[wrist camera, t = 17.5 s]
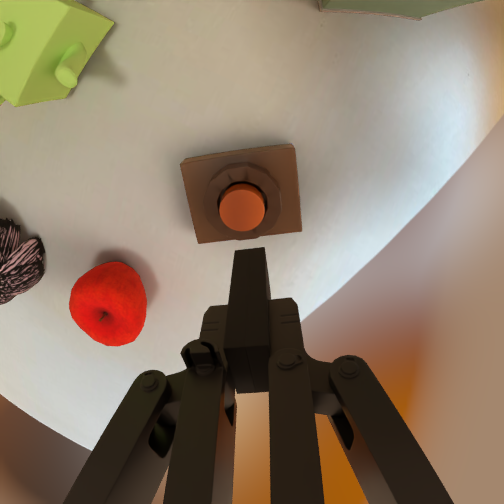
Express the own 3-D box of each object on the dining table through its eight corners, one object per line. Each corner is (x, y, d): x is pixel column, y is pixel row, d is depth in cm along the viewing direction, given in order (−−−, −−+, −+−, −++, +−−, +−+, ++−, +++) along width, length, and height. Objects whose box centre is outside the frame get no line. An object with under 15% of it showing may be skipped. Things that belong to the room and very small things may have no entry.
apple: (163, 310, 36) (148, 357, 29) (102, 305, 36) (78, 347, 29) (152, 246, 32) (128, 289, 25) (84, 245, 32) (52, 283, 25)
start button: (261, 180, 25) (261, 186, 23) (266, 220, 26) (267, 228, 25) (217, 186, 25) (215, 193, 23) (225, 225, 27) (223, 234, 25)
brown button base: (291, 143, 27) (297, 151, 23) (299, 222, 30) (305, 240, 27) (184, 158, 27) (174, 168, 24) (201, 234, 31) (194, 253, 28)
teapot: (129, 84, 23) (67, 86, 14) (29, 125, 24) (-38, 149, 15) (113, -40, 16) (60, -76, 7) (16, 14, 17) (-47, 9, 8)
